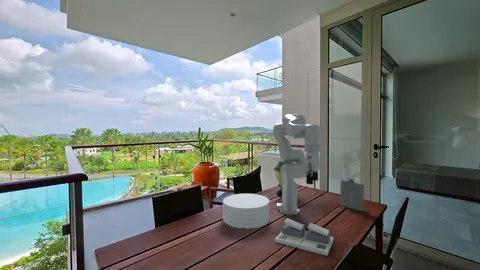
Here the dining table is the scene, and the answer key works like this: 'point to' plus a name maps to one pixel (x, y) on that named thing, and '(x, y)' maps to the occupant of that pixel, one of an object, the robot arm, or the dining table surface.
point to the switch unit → (305, 239)
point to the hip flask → (352, 194)
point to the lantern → (278, 169)
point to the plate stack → (246, 210)
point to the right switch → (318, 229)
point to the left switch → (294, 224)
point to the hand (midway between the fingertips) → (312, 182)
